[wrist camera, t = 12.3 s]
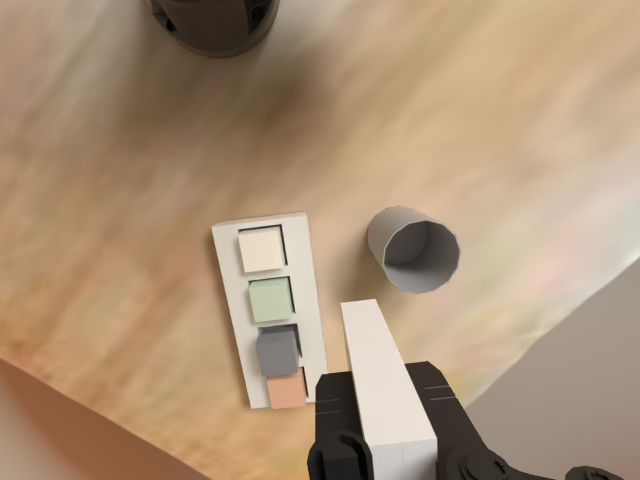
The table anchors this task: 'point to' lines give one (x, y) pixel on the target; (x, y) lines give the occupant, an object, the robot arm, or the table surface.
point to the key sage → (271, 299)
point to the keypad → (301, 292)
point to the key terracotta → (287, 390)
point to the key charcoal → (277, 352)
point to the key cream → (261, 249)
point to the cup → (413, 249)
